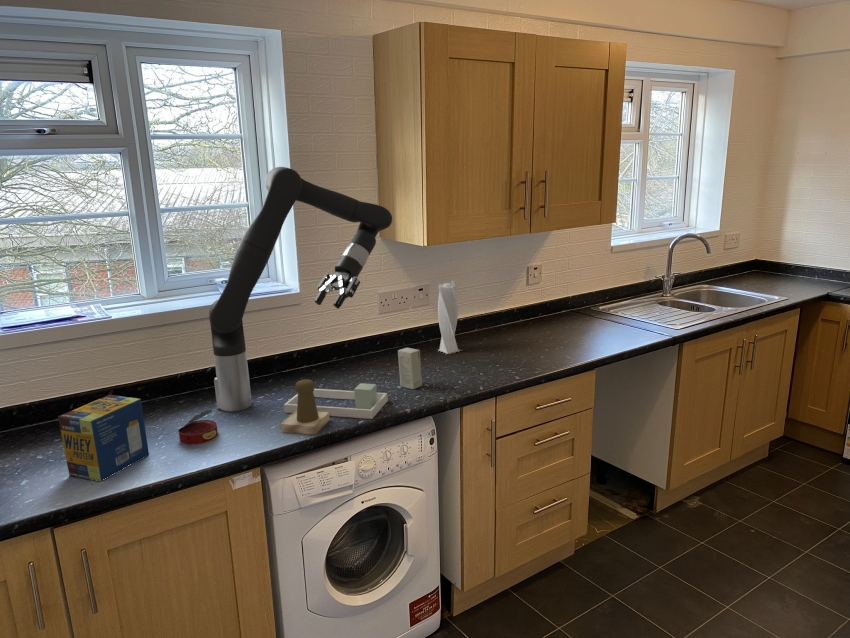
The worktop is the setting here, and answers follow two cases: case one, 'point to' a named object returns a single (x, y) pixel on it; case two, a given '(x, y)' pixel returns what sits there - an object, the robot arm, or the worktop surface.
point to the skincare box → (410, 368)
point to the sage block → (365, 396)
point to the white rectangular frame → (337, 411)
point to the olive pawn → (306, 401)
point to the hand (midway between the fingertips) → (326, 305)
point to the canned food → (198, 430)
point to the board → (304, 424)
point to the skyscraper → (447, 318)
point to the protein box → (103, 437)
